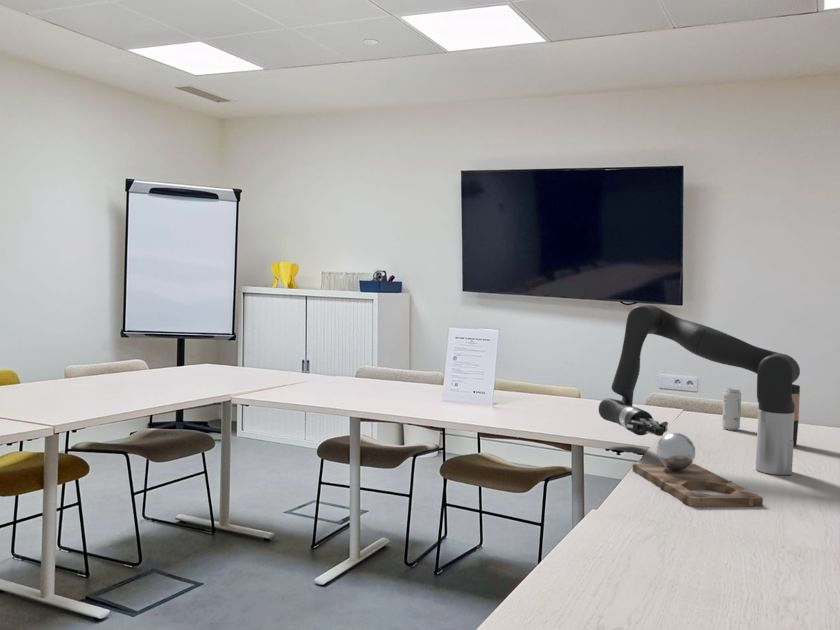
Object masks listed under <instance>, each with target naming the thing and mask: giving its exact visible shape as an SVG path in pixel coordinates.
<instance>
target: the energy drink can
mask: <svg viewBox="0 0 840 630" xmlns="http://www.w3.org/2000/svg"><path fill="white" fill-rule="evenodd" d="M722 395H723V398H722V399H723V401H722V417H721V420H722V421H721V426H722V427H723V430H725V429H728V430H727V431H732V430H737V431H739V429H740V427H741V411H742V410H741V409H742V408H741V407H742V406H741V405H742V393H741V389H740V388H737V387H736V388H735V387H726V388H725V390H724V391H723V394H722Z"/></svg>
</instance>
